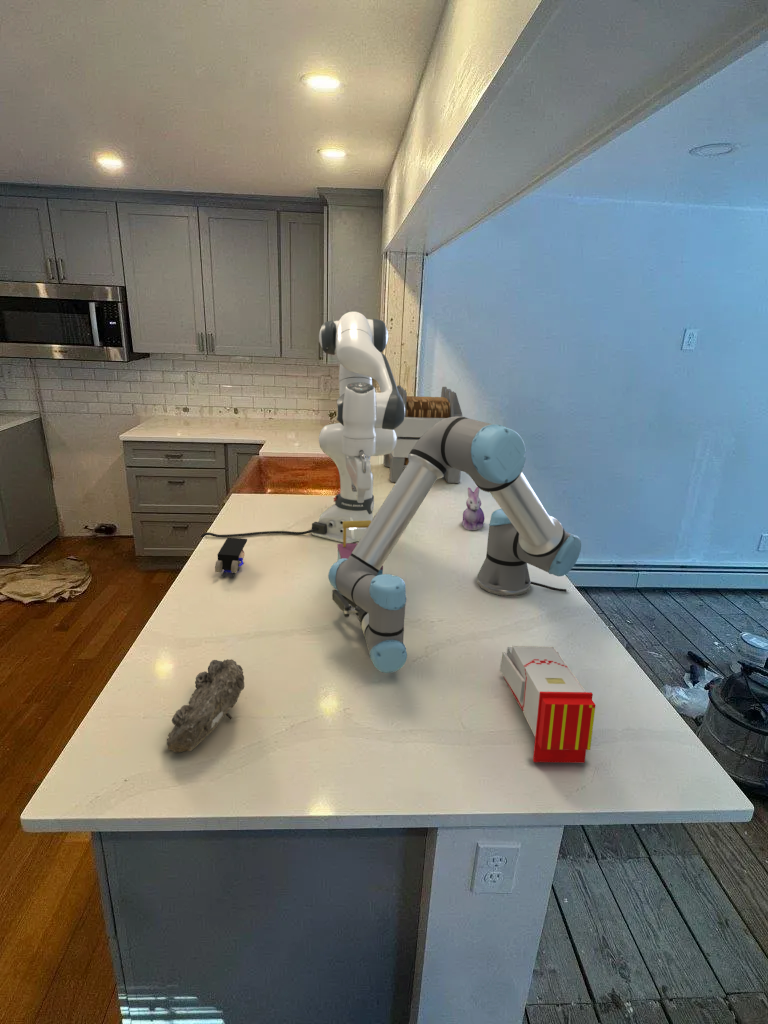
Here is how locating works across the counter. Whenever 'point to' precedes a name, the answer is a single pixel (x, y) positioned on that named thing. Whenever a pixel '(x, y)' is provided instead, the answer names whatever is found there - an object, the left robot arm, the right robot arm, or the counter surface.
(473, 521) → the figurine
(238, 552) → the figurine character
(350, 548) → the lid
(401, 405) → the left robot arm
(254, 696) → the counter surface
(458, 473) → the transformer
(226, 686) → the fossil
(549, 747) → the toy
